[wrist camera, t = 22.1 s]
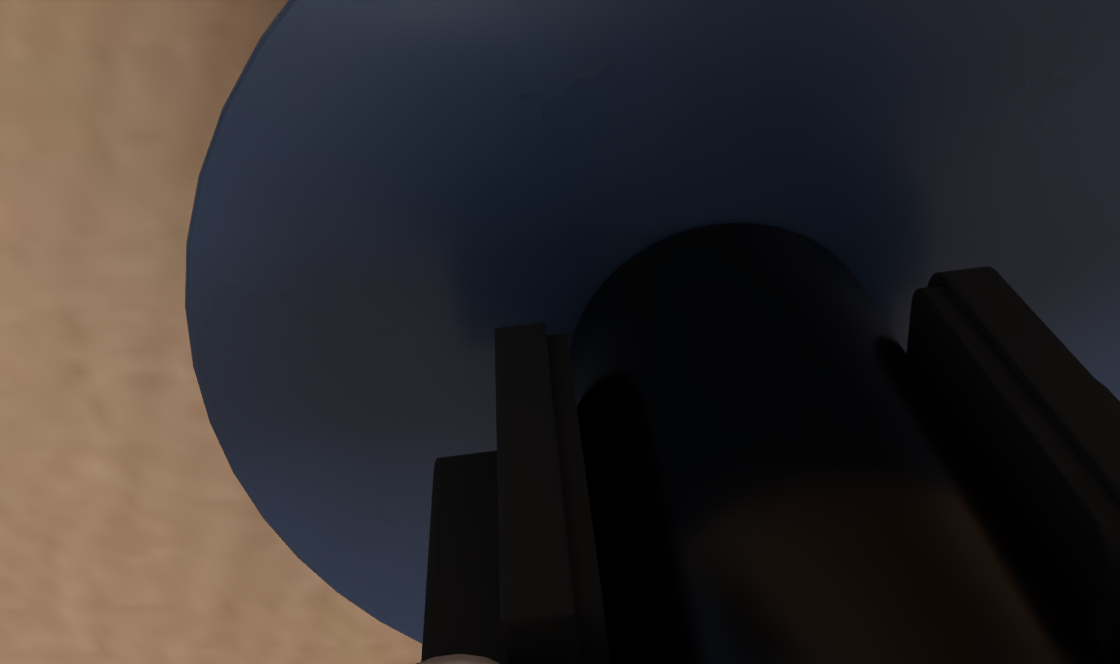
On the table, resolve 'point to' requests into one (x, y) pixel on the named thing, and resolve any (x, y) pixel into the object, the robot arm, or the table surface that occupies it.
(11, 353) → the table surface
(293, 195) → the lid
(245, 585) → the table surface
